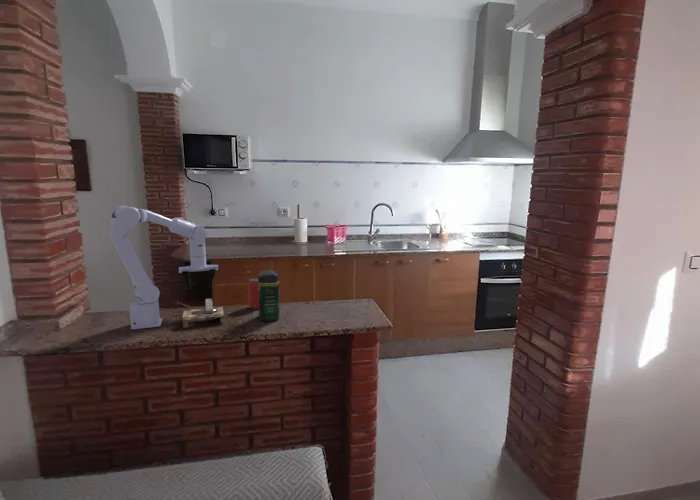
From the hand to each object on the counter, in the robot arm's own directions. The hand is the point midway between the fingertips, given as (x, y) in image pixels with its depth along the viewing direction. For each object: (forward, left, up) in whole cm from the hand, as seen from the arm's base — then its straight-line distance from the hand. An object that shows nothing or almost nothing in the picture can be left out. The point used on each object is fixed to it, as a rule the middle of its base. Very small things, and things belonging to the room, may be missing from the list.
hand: (200, 288), depth 156 cm
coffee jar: (+25, -15, -10) cm, 31 cm away
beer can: (+22, 0, -10) cm, 24 cm away
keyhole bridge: (+1, -12, -10) cm, 16 cm away
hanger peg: (+3, -12, -9) cm, 15 cm away
